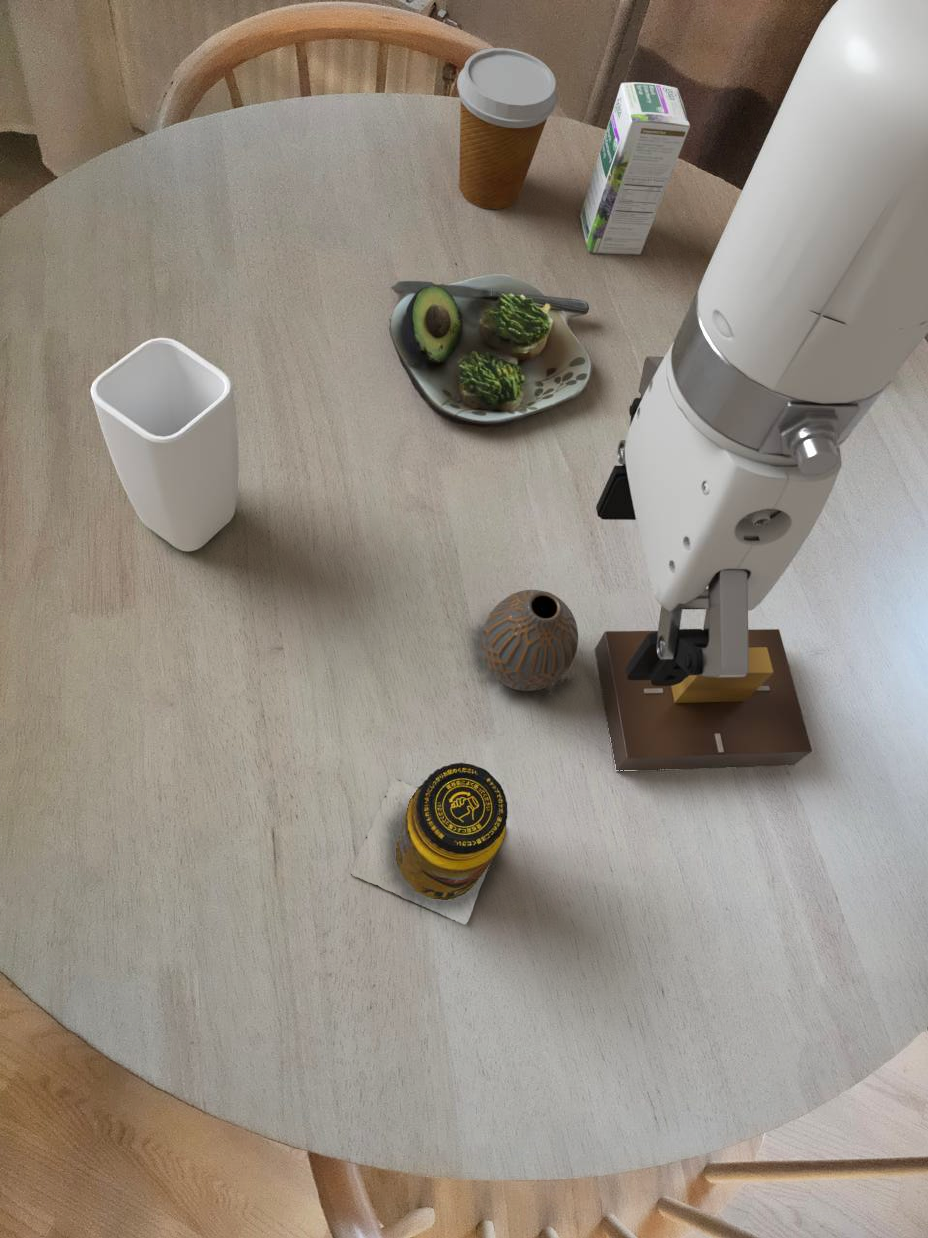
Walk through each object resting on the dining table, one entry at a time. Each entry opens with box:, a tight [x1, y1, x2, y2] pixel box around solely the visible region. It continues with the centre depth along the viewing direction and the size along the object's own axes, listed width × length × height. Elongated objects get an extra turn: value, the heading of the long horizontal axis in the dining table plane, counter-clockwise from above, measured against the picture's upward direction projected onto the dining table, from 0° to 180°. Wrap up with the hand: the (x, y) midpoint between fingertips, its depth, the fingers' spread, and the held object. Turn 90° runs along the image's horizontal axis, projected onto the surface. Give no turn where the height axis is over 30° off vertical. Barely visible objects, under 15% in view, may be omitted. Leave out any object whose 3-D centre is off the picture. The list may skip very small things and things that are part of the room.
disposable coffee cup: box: [456, 47, 559, 210], centre depth 92 cm, size 10×10×12 cm
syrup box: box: [579, 81, 691, 255], centre depth 90 cm, size 6×6×14 cm
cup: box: [89, 337, 240, 552], centre depth 67 cm, size 7×7×15 cm
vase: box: [481, 589, 579, 692], centre depth 68 cm, size 7×7×9 cm
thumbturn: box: [671, 647, 773, 703], centre depth 67 cm, size 6×2×5 cm, turn 95°
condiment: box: [396, 762, 508, 900], centre depth 59 cm, size 7×8×12 cm
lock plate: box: [594, 628, 813, 771], centre depth 71 cm, size 14×10×3 cm
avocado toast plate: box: [388, 273, 593, 428], centre depth 85 cm, size 19×18×5 cm
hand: (638, 590), depth 50 cm, fingers open, 9 cm apart
